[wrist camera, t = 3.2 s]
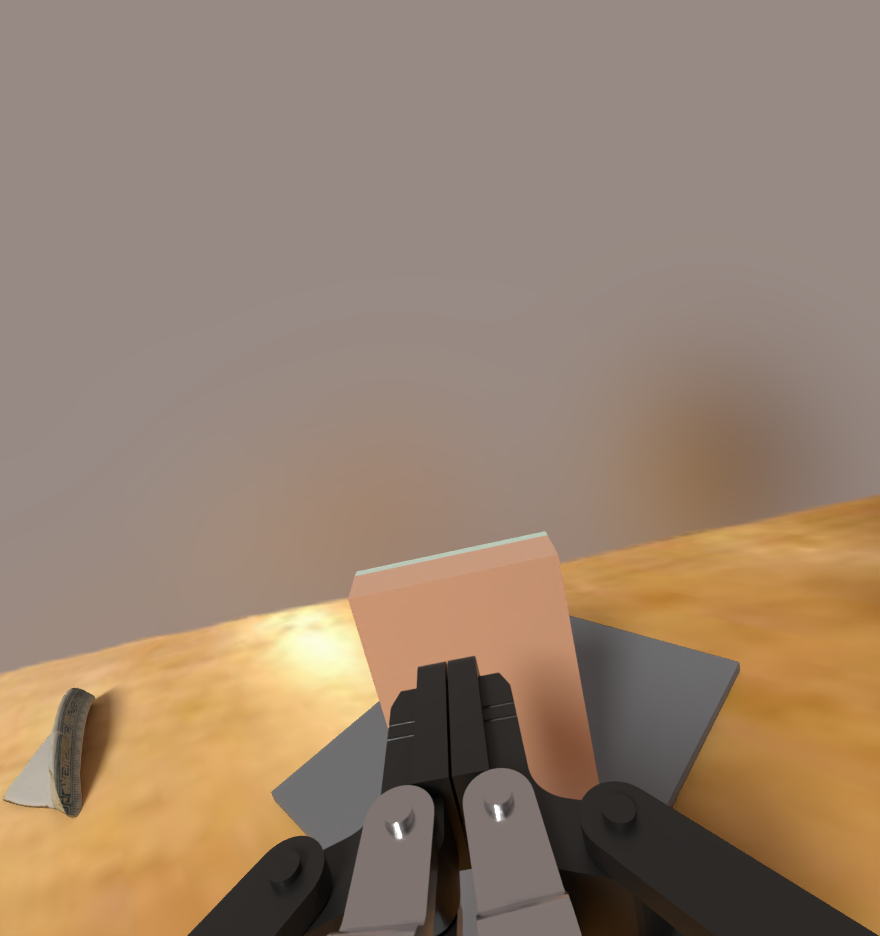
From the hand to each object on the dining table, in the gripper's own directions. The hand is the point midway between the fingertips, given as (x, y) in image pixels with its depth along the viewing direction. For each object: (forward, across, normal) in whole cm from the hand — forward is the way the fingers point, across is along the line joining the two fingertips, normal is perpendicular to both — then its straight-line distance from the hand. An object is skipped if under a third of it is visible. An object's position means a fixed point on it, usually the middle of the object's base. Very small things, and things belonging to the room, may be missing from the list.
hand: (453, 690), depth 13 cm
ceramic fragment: (+20, +30, +16) cm, 39 cm away
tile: (+8, 0, +14) cm, 16 cm away
